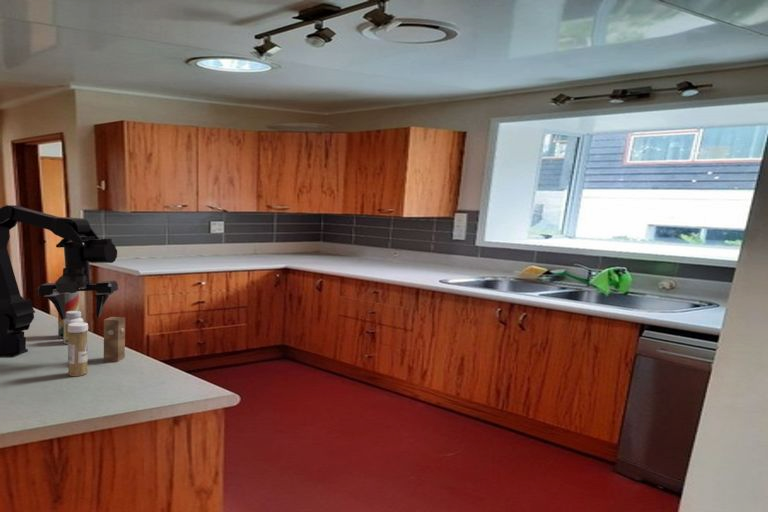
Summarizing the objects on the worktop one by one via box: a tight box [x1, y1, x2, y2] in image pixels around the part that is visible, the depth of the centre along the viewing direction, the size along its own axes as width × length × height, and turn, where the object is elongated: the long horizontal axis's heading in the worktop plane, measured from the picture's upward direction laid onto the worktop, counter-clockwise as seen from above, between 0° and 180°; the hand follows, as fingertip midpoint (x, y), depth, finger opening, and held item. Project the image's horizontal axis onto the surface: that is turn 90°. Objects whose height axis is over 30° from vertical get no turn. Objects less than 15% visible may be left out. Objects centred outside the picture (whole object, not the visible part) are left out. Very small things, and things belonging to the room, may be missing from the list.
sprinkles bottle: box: [67, 322, 89, 377], centre depth 130 cm, size 5×5×13 cm
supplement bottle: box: [62, 310, 84, 345], centre depth 157 cm, size 5×5×10 cm
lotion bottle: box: [57, 291, 80, 339], centre depth 162 cm, size 6×6×20 cm
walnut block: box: [103, 316, 126, 363], centre depth 143 cm, size 4×4×12 cm
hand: (81, 318), depth 140 cm, fingers open, 9 cm apart
